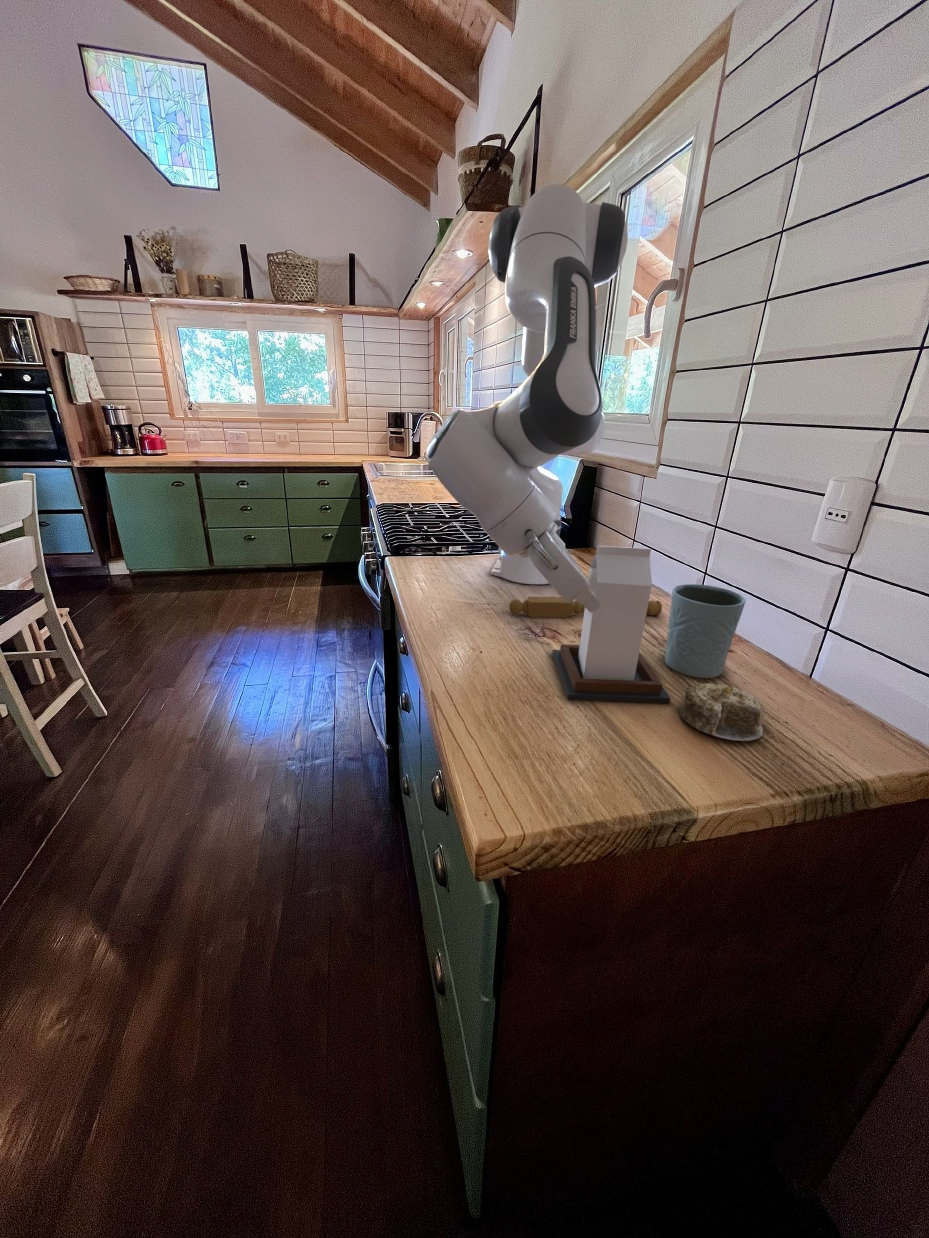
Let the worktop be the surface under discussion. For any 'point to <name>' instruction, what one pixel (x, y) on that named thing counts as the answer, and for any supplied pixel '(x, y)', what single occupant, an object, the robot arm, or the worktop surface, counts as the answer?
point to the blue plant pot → (701, 629)
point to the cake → (723, 712)
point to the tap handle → (561, 607)
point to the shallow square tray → (607, 681)
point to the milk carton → (615, 613)
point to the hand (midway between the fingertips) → (587, 595)
